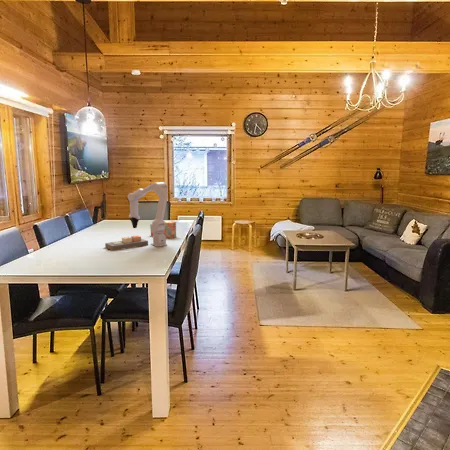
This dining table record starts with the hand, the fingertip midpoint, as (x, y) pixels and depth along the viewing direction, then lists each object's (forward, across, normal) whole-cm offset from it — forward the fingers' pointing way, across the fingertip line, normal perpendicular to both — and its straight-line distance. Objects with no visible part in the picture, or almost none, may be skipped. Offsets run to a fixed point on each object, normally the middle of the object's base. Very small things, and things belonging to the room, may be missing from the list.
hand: (134, 227), depth 257 cm
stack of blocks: (+11, -6, +27) cm, 29 cm away
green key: (+10, +10, -18) cm, 23 cm away
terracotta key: (+8, +10, -4) cm, 13 cm away
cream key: (+8, +10, -11) cm, 17 cm away
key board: (+10, +10, -11) cm, 18 cm away
